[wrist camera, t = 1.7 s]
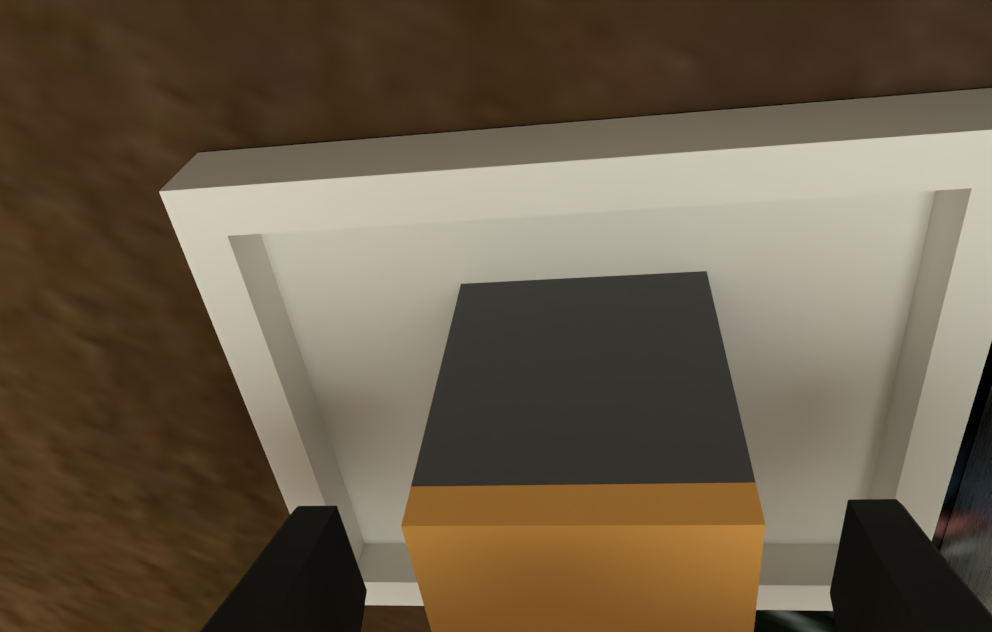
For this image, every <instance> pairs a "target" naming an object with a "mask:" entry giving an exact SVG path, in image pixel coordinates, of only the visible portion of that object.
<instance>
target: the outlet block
mask: <svg viewBox="0 0 992 632" xmlns="http://www.w3.org/2000/svg"><path fill="white" fill-rule="evenodd" d="M940 553H941V554H942V555H943V556H944V558H945V559H946V560H947V561H948V563H949V564H950V565H951V566H952V568H953V569H954V570H955V571H956V572H957V574H958V575H959V576H960V577H961V578H962V580H963V581H964V582H965V583H966V584H967V586H968V587H969V588H970V589H971V591H972V592H973V593H974V594H975V595H976V596H977V598H978V599H979V600H980V601H981V602H982V604H983V605H984V606H985V607H986V608H987V609H988V611H989V612H990V613H991V614H992V385H991V388H990V392H989V395H988V398H987V401H986V404H985V408H984V411H983V414H982V417H981V420H980V424H979V427H978V430H977V433H976V437H975V440H974V443H973V446H972V449H971V453H970V456H969V459H968V462H967V465H966V469H965V472H964V475H963V478H962V481H961V485H960V488H959V491H958V494H957V497H956V501H955V504H954V507H953V510H952V513H951V517H950V520H949V523H948V526H947V529H946V533H945V536H944V539H943V542H942V546H941V549H940Z"/></svg>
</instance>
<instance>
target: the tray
mask: <svg viewBox="0 0 992 632" xmlns="http://www.w3.org/2000/svg"><path fill="white" fill-rule="evenodd" d="M159 193H160V195H161V198H162V200H163V203H164V205H165V208H166V210H167V212H168V215H169V217H170V220H171V222H172V225H173V227H174V230H175V232H176V235H177V237H178V240H179V242H180V244H181V247H182V249H183V252H184V254H185V257H186V259H187V262H188V264H189V267H190V269H191V272H192V274H193V276H194V279H195V281H196V284H197V286H198V289H199V291H200V294H201V296H202V299H203V301H204V304H205V306H206V308H207V311H208V313H209V316H210V318H211V321H212V323H213V326H214V328H215V331H216V333H217V336H218V338H219V340H220V343H221V345H222V348H223V350H224V353H225V355H226V358H227V360H228V363H229V365H230V368H231V370H232V373H233V375H234V377H235V380H236V382H237V385H238V387H239V390H240V392H241V395H242V397H243V400H244V402H245V405H246V407H247V409H248V412H249V414H250V417H251V419H252V422H253V424H254V427H255V429H256V432H257V434H258V437H259V439H260V441H261V444H262V446H263V449H264V451H265V454H266V456H267V459H268V461H269V464H270V466H271V469H272V471H273V473H274V476H275V478H276V481H277V483H278V486H279V488H280V491H281V493H282V496H283V498H284V501H285V503H286V505H287V508H288V510H289V513H290V514H291V513H292V512H293V511H294V510H295V509H296V508H297V507H298V506H337V508H338V510H339V513H340V516H341V519H342V522H343V524H344V527H345V530H346V533H347V536H348V539H349V541H350V544H351V547H352V550H353V553H354V556H355V558H356V561H357V564H358V567H359V570H360V572H361V575H362V578H363V581H364V584H365V587H366V589H367V593H366V599H365V605H406V606H424V604H423V600H422V597H421V593H420V590H419V586H418V583H417V579H416V576H415V573H414V569H413V566H412V562H411V559H410V555H409V552H408V548H407V545H406V541H405V538H404V535H403V531H402V528H401V525H402V521H403V517H404V512H405V508H406V504H407V500H408V496H409V492H410V488H411V484H412V480H413V476H414V472H415V468H416V464H417V460H418V456H419V452H420V448H421V444H422V440H423V436H424V432H425V427H426V423H427V419H428V415H429V411H430V407H431V403H432V399H433V395H434V391H435V387H436V383H437V379H438V375H439V371H440V367H441V363H442V359H443V355H444V351H445V347H446V343H447V338H448V334H449V330H450V326H451V322H452V318H453V314H454V310H455V306H456V302H457V298H458V294H459V290H460V286H461V284H466V283H486V282H505V281H525V280H544V279H563V278H583V277H602V276H622V275H641V274H660V273H680V272H699V271H707V275H708V279H709V284H710V288H711V292H712V297H713V301H714V305H715V310H716V314H717V318H718V322H719V327H720V331H721V335H722V340H723V344H724V348H725V353H726V357H727V361H728V366H729V370H730V374H731V379H732V383H733V387H734V391H735V396H736V400H737V404H738V409H739V413H740V417H741V422H742V426H743V430H744V435H745V439H746V443H747V447H748V452H749V456H750V460H751V465H752V469H753V473H754V478H755V482H756V486H757V491H758V495H759V499H760V503H761V508H762V512H763V516H764V521H765V534H764V543H763V552H762V561H761V570H760V579H759V588H758V596H757V605H756V610H817V611H833V607H832V602H831V598H830V588H831V583H832V578H833V573H834V568H835V563H836V558H837V553H838V548H839V542H840V537H841V532H842V527H843V522H844V517H845V512H846V507H847V502H848V500H857V499H897V500H898V501H899V502H900V503H901V504H903V505H904V507H905V508H906V509H907V511H908V512H909V513H910V515H911V516H912V517H913V518H914V520H915V521H916V522H917V524H918V525H919V526H920V527H921V529H922V530H923V531H924V533H925V534H926V535H927V536H928V538H929V539H930V540H931V541H932V539H933V535H934V532H935V529H936V525H937V522H938V519H939V515H940V512H941V509H942V505H943V502H944V499H945V495H946V492H947V488H948V485H949V482H950V478H951V475H952V472H953V468H954V465H955V462H956V458H957V455H958V452H959V448H960V445H961V442H962V438H963V435H964V432H965V428H966V425H967V422H968V418H969V415H970V412H971V408H972V405H973V402H974V398H975V395H976V392H977V388H978V385H979V382H980V378H981V375H982V372H983V368H984V365H985V362H986V358H987V355H988V352H989V348H990V345H991V342H992V88H984V89H972V90H960V91H948V92H935V93H923V94H911V95H899V96H886V97H874V98H862V99H850V100H837V101H825V102H813V103H801V104H788V105H776V106H764V107H752V108H739V109H727V110H715V111H703V112H690V113H678V114H666V115H654V116H641V117H629V118H617V119H605V120H592V121H580V122H568V123H556V124H543V125H531V126H519V127H507V128H494V129H482V130H470V131H458V132H445V133H433V134H421V135H409V136H396V137H384V138H372V139H360V140H347V141H335V142H323V143H311V144H298V145H286V146H274V147H262V148H249V149H237V150H225V151H213V152H200V153H197V154H196V155H195V156H194V157H193V158H192V159H191V160H190V161H189V162H188V163H187V164H186V165H185V166H184V167H183V168H182V169H181V170H180V171H179V172H178V173H177V174H176V175H175V176H174V177H173V178H172V179H171V180H170V181H169V182H168V183H167V184H166V185H165V186H164V187H163V188H162V189H161V190H160V191H159Z"/></svg>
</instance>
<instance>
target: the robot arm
mask: <svg viewBox="0 0 992 632" xmlns="http://www.w3.org/2000/svg"><path fill="white" fill-rule="evenodd" d="M366 593H367V589H366V587H365V584H364V581H363V578H362V575H361V572H360V570H359V567H358V564H357V561H356V558H355V556H354V553H353V550H352V547H351V544H350V541H349V539H348V536H347V533H346V530H345V527H344V524H343V522H342V519H341V516H340V513H339V510H338V508H337V506H298V507H297V508H296V509H295V510H294V511H293V512H292V513H291V514H290V516H289V517H288V518H287V520H286V521H285V522H284V524H283V525H282V526H281V528H280V529H279V530H278V531H277V533H276V534H275V535H274V537H273V538H272V539H271V541H270V542H269V543H268V545H267V546H266V547H265V549H264V550H263V551H262V553H261V554H260V555H259V557H258V558H257V559H256V561H255V562H254V563H253V565H252V566H251V567H250V569H249V570H248V571H247V572H246V574H245V575H244V576H243V578H242V579H241V580H240V582H239V583H238V584H237V585H236V587H235V588H234V589H233V591H232V592H231V593H230V594H229V596H228V597H227V598H226V599H225V601H224V602H223V603H222V604H221V606H220V607H219V608H218V609H217V611H216V612H215V613H214V614H213V616H212V617H211V618H210V619H209V621H208V622H207V623H206V624H205V626H204V627H203V628H202V629H201V631H200V632H361V626H362V619H363V613H364V606H365V599H366ZM830 598H831V602H832V607H833V612H834V617H835V622H836V627H837V631H838V632H992V614H991V613H990V612H989V611H988V609H987V608H986V607H985V606H984V605H983V604H982V602H981V601H980V600H979V599H978V598H977V596H976V595H975V594H974V593H973V592H972V591H971V589H970V588H969V587H968V586H967V584H966V583H965V582H964V581H963V580H962V578H961V577H960V576H959V575H958V574H957V572H956V571H955V570H954V569H953V568H952V566H951V565H950V564H949V563H948V561H947V560H946V559H945V558H944V556H943V555H942V554H941V553H940V551H939V550H938V549H937V548H936V546H935V545H934V544H933V543H932V541H931V540H930V539H929V538H928V536H927V535H926V534H925V533H924V531H923V530H922V529H921V527H920V526H919V525H918V524H917V522H916V521H915V520H914V518H913V517H912V516H911V515H910V513H909V512H908V511H907V509H906V508H905V507H904V505H903V504H901V503H900V502H899V501H898V500H897V499H857V500H848V502H847V507H846V512H845V517H844V522H843V527H842V532H841V537H840V542H839V548H838V553H837V558H836V563H835V568H834V573H833V578H832V583H831V588H830Z"/></svg>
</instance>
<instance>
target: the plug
mask: <svg viewBox="0 0 992 632" xmlns="http://www.w3.org/2000/svg"><path fill="white" fill-rule="evenodd" d="M401 528H402V531H403V535H404V538H405V541H406V545H407V548H408V552H409V555H410V559H411V562H412V566H413V569H414V573H415V576H416V579H417V583H418V586H419V590H420V593H421V597H422V600H423V604H424V607H425V611H426V614H427V618H428V621H429V624H430V628H431V631H432V632H754V623H755V614H756V605H757V596H758V588H759V579H760V570H761V561H762V552H763V543H764V534H765V521H764V516H763V512H762V508H761V503H760V499H759V495H758V491H757V486H756V482H755V478H754V473H753V469H752V465H751V460H750V456H749V452H748V447H747V443H746V439H745V435H744V430H743V426H742V422H741V417H740V413H739V409H738V404H737V400H736V396H735V391H734V387H733V383H732V379H731V374H730V370H729V366H728V361H727V357H726V353H725V348H724V344H723V340H722V335H721V331H720V327H719V322H718V318H717V314H716V310H715V305H714V301H713V297H712V292H711V288H710V284H709V279H708V275H707V271H699V272H680V273H660V274H641V275H622V276H602V277H583V278H563V279H544V280H525V281H505V282H486V283H466V284H461V286H460V290H459V294H458V298H457V302H456V306H455V310H454V314H453V318H452V322H451V326H450V330H449V334H448V338H447V343H446V347H445V351H444V355H443V359H442V363H441V367H440V371H439V375H438V379H437V383H436V387H435V391H434V395H433V399H432V403H431V407H430V411H429V415H428V419H427V423H426V427H425V432H424V436H423V440H422V444H421V448H420V452H419V456H418V460H417V464H416V468H415V472H414V476H413V480H412V484H411V488H410V492H409V496H408V500H407V504H406V508H405V512H404V517H403V521H402V525H401Z"/></svg>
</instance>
